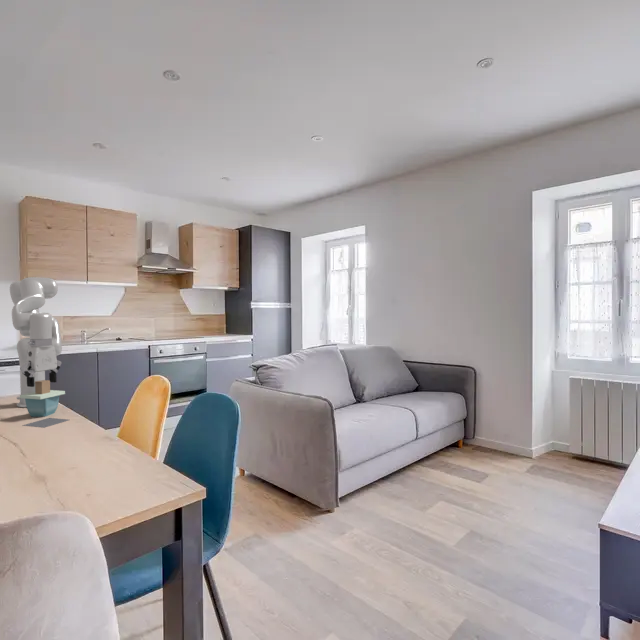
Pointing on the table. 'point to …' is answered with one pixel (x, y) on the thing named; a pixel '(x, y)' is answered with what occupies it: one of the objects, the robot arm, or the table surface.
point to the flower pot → (42, 406)
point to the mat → (46, 422)
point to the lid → (42, 391)
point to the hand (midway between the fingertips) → (42, 384)
